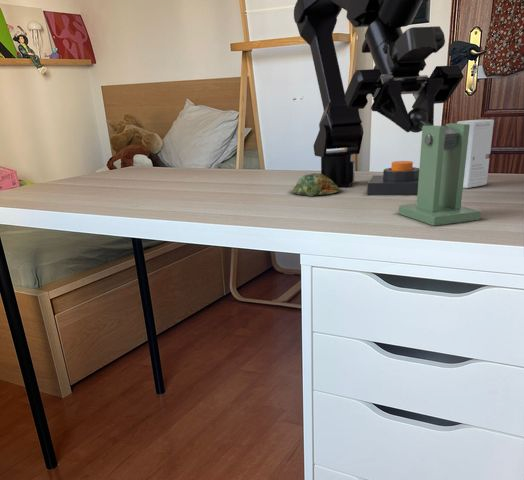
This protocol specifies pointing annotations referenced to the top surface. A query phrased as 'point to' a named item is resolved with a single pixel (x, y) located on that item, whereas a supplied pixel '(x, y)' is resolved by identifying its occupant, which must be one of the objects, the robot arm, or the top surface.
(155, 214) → the top surface
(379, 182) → the button box
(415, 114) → the lever
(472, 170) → the cosmetic box
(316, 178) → the green mottled dome
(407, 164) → the button
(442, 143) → the bracket
